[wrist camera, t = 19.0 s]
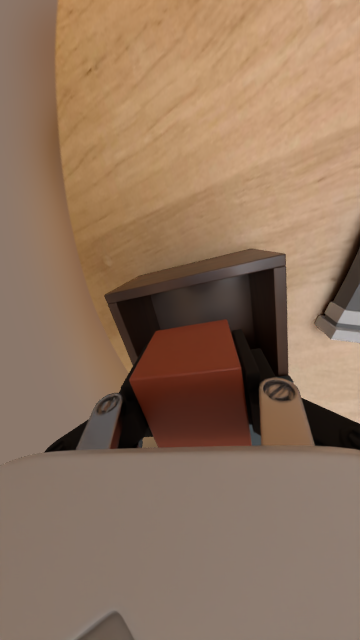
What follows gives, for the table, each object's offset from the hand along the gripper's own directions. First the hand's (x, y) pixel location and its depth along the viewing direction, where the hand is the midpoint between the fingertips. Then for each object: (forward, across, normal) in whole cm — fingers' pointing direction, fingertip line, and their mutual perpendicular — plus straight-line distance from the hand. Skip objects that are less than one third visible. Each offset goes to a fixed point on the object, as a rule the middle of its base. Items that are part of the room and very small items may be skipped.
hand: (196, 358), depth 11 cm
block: (0, 0, 0) cm, 0 cm away
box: (+13, 0, +4) cm, 14 cm away
